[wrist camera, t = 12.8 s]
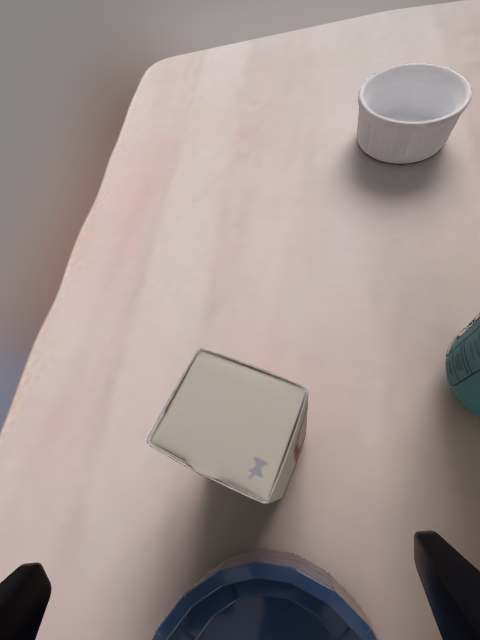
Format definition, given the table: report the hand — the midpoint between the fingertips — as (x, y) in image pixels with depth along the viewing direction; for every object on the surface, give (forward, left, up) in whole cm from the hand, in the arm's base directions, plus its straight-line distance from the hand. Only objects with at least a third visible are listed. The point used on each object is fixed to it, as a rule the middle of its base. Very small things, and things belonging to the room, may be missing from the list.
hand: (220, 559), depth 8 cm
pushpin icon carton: (+3, +2, -13) cm, 14 cm away
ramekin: (+34, 0, -13) cm, 37 cm away
